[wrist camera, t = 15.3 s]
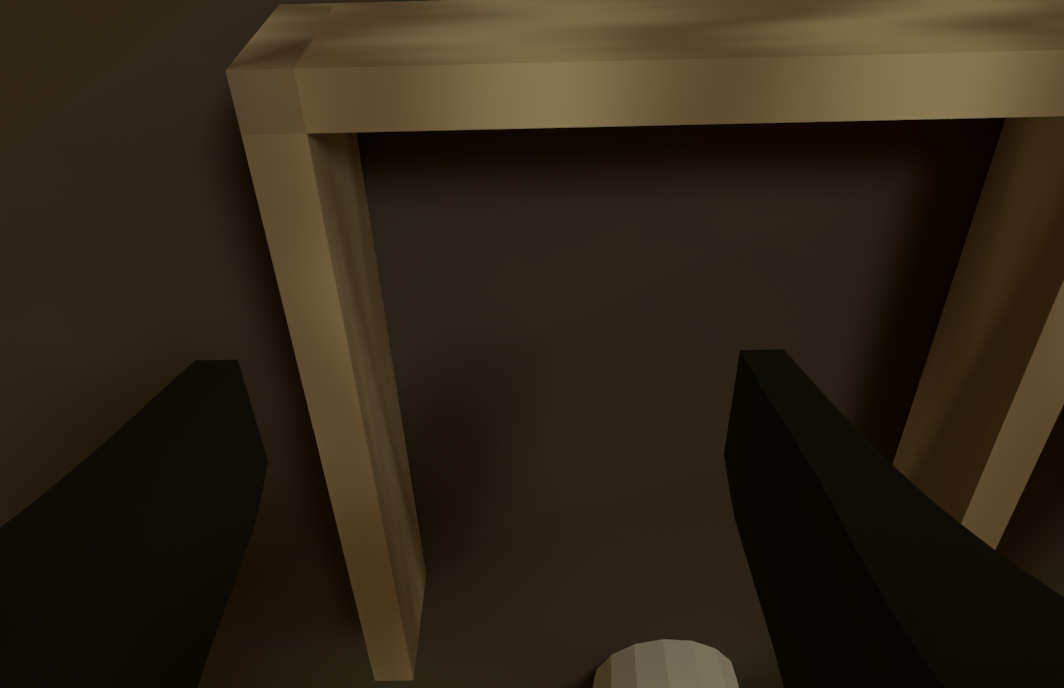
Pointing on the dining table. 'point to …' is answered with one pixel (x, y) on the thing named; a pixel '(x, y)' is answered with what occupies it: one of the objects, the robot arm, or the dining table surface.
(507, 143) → the dining table surface
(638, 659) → the shot glass
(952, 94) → the frame
